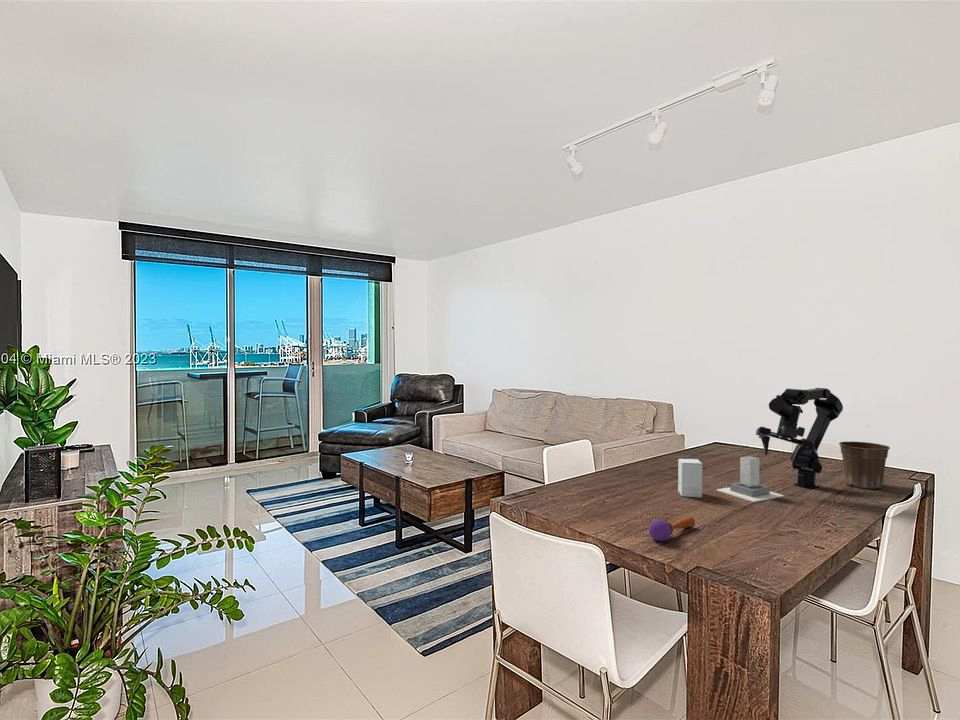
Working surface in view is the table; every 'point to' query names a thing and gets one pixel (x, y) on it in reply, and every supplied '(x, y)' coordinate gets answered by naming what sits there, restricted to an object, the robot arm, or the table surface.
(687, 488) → the supplement box
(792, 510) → the table surface
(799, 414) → the robot arm
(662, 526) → the kendama
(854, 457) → the plant pot
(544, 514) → the table surface
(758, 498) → the dock board
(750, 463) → the square peg
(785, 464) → the table surface
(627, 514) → the table surface
